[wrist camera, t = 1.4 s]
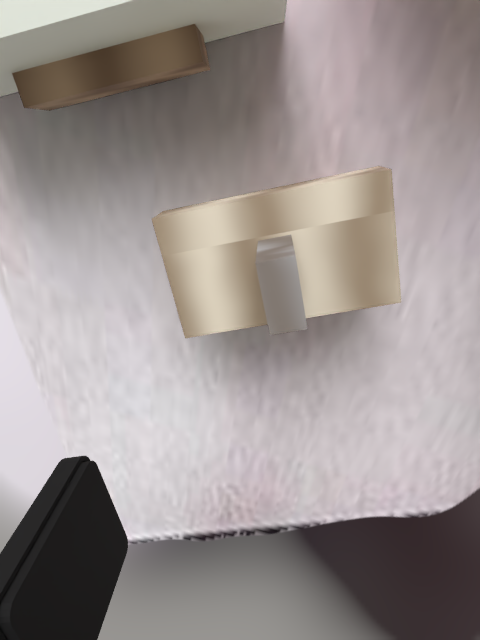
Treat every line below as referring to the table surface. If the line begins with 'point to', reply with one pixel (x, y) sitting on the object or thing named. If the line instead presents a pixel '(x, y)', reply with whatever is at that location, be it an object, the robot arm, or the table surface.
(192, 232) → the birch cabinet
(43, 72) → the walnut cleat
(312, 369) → the table surface
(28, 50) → the wall board
